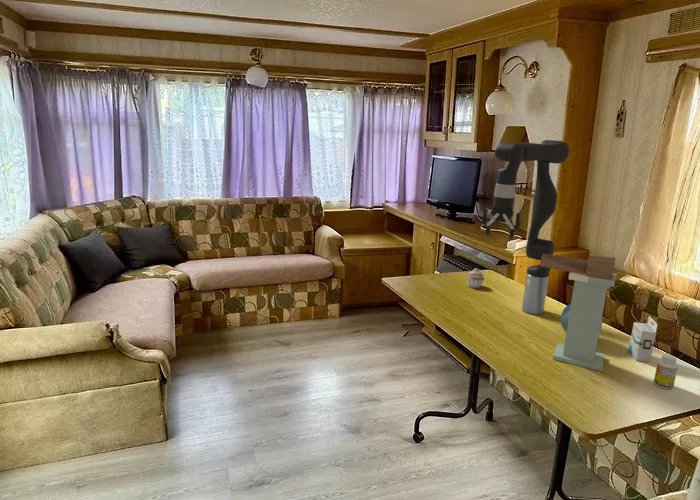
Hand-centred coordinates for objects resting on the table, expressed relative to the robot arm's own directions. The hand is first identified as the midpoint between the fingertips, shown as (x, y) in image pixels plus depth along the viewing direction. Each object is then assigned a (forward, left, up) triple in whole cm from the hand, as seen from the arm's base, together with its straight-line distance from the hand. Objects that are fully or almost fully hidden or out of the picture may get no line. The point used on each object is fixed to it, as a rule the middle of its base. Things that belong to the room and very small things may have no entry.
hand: (499, 236), depth 193 cm
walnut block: (+10, +29, -6) cm, 32 cm away
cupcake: (-49, -20, -38) cm, 65 cm away
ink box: (-5, +54, -38) cm, 66 cm away
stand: (+10, +35, -38) cm, 53 cm away
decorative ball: (-10, +33, -38) cm, 52 cm away
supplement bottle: (+15, +61, -38) cm, 74 cm away
